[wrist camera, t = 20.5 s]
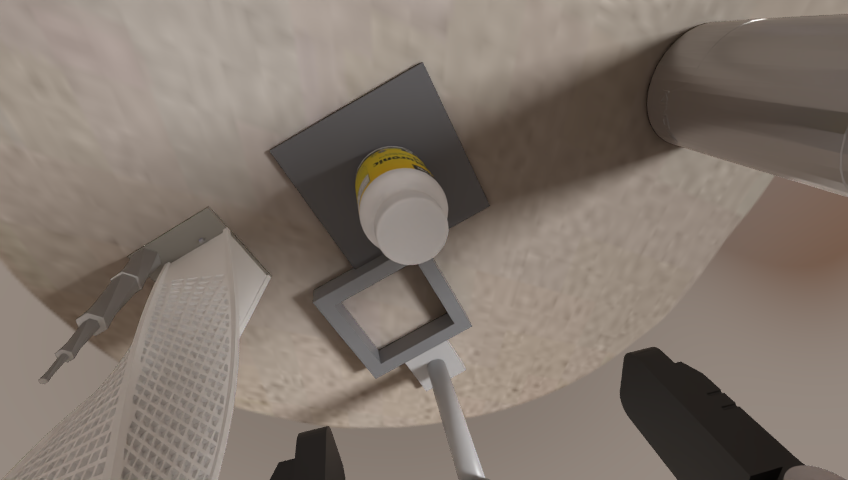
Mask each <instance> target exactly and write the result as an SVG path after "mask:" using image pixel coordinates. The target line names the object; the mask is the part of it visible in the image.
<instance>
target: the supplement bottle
mask: <svg viewBox="0 0 848 480" xmlns="http://www.w3.org/2000/svg"><path fill="white" fill-rule="evenodd" d="M355 190H356V197H357V204H358V211H359V218H360V222H361V225H362V228H363V231H364V233H365V234H366V236H367V237H368V239H369V240H370V241H371V242H372V243H373V244H374V245H375V246H377V247H378V248H380V250H381V251H382V252H383V254H384V255H385V256H386V257H388V258H389V259H390V260H392V261H394V262H396V263H399V264H403V265H416V264H421V263H424V262H426V261H428V260H430V259H432V258H433V257H435V256H436V255H437V254H438V253H439V252H440V251H441V249H442V248H443V246H444V245H445V243H446V240H447V237H448V231H449V227H448V221H447V217H448V203H447V199H446V196H445V193H444V191H443V189H442V188H441V186H440V184H439V183H438V182H437V181H436V179H435V178H434V177H433V175H432V174H431V173H430V171H429V170H428V169H427V167H426V166H425V165H424V163H423V162H422V161H421V160H420V159H419V157H417V156H416V155H415V154H414V153H413V152H411V151H409V150H407V149H405V148H402V147H397V146H387V147H382V148H379V149H376V150H374V151H373V152H371V153H370V154H368V155H367V156H366V157H365V158H364V159H363V161H362V162H361V164H360V165H359V167H358V170H357V173H356V178H355Z"/></svg>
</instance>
